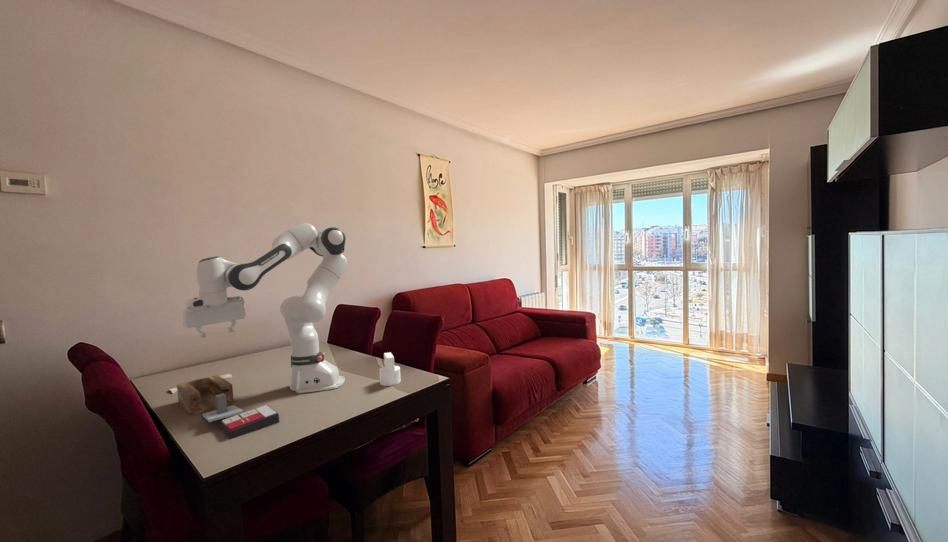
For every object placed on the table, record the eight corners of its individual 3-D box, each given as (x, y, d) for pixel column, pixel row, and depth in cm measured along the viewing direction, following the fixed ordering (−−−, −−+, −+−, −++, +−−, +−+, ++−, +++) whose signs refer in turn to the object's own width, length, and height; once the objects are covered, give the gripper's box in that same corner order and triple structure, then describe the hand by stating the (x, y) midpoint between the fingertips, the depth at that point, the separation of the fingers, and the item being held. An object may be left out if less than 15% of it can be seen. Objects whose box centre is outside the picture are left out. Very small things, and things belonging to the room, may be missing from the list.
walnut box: (218, 391, 165) (217, 374, 164) (233, 403, 152) (232, 384, 151) (178, 402, 155) (176, 384, 154) (190, 415, 141) (188, 395, 141)
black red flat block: (219, 419, 129) (267, 403, 140) (221, 431, 130) (268, 414, 141) (228, 429, 122) (278, 411, 132) (230, 442, 122) (280, 423, 133)
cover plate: (234, 407, 147) (232, 389, 148) (243, 412, 134) (241, 393, 135) (202, 415, 141) (200, 397, 141) (208, 422, 128) (206, 401, 128)
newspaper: (172, 395, 165) (172, 391, 165) (167, 392, 169) (166, 388, 169) (232, 378, 184) (232, 375, 184) (226, 376, 188) (226, 372, 188)
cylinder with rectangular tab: (402, 383, 166) (401, 356, 165) (381, 387, 163) (379, 359, 162) (398, 377, 174) (397, 351, 174) (378, 380, 171) (376, 354, 170)
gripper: (240, 294, 157) (244, 328, 159) (179, 302, 142) (183, 339, 143) (246, 295, 153) (249, 329, 154) (184, 303, 138) (188, 341, 139)
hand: (217, 334), depth 149 cm, fingers open, 8 cm apart
